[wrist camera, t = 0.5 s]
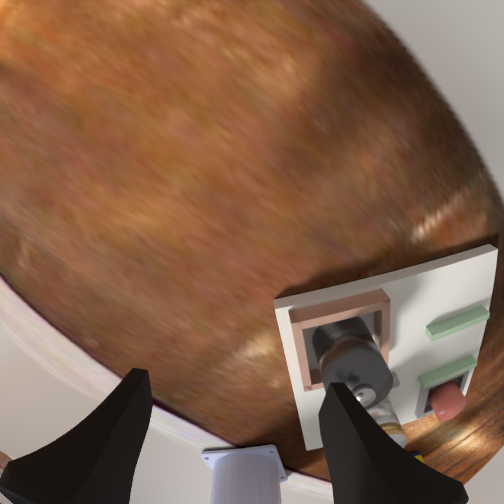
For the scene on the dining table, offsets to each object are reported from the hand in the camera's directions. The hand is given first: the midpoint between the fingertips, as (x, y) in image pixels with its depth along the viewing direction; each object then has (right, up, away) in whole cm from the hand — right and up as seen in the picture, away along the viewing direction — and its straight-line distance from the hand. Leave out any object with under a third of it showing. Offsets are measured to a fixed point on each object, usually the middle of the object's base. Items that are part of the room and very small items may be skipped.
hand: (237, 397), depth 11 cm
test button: (+19, -8, +12) cm, 24 cm away
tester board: (+13, -4, +12) cm, 18 cm away
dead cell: (+7, 0, +9) cm, 12 cm away
